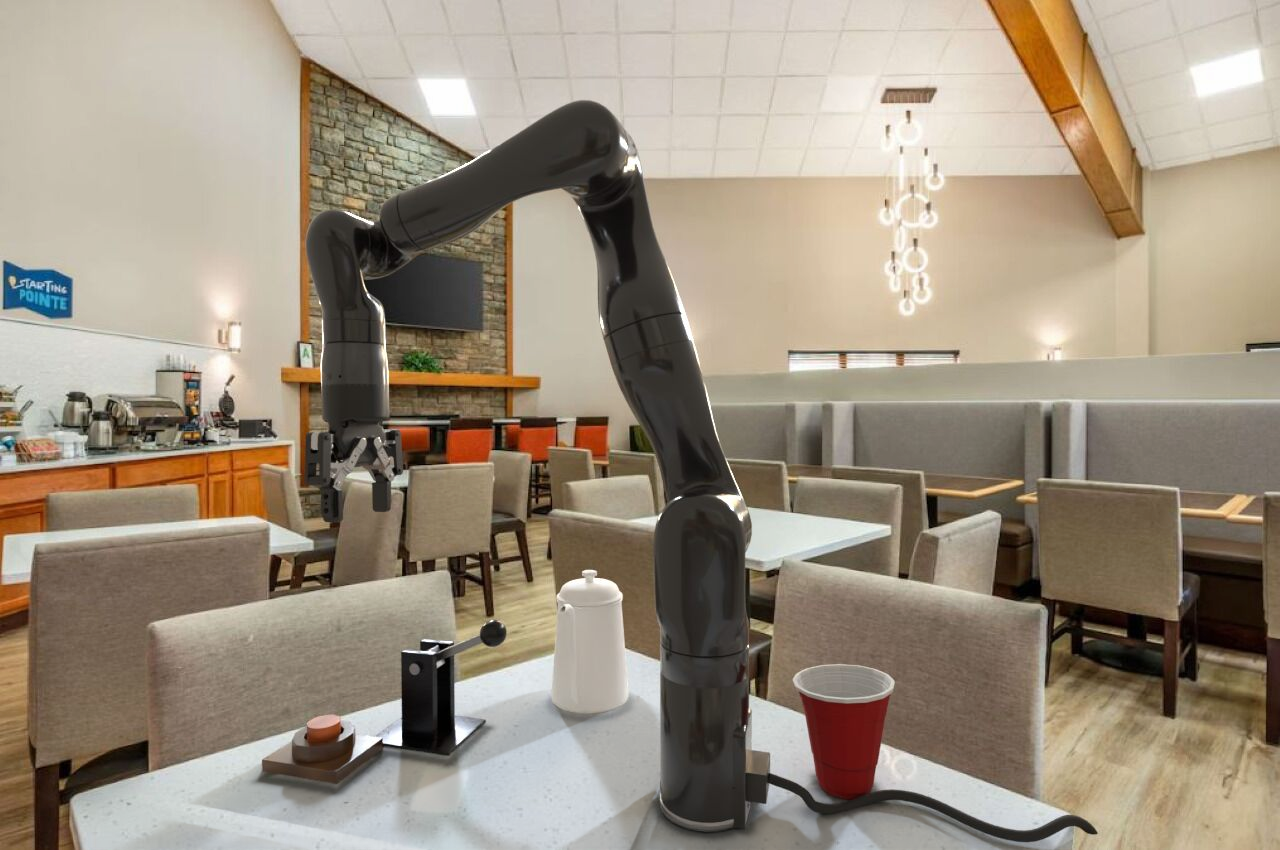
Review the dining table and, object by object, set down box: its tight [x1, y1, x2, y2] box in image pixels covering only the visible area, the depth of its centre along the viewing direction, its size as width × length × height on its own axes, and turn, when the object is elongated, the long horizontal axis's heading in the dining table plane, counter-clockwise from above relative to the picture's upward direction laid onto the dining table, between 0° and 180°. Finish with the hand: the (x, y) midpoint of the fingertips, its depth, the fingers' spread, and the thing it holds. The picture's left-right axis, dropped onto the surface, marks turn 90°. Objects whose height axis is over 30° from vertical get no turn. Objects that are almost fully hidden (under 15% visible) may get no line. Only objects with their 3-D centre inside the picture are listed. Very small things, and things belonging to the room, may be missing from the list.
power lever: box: [426, 619, 508, 668], centre depth 83 cm, size 13×3×3 cm, turn 74°
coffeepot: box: [551, 569, 629, 714], centre depth 95 cm, size 11×25×19 cm, turn 168°
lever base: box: [374, 638, 487, 757], centre depth 85 cm, size 11×9×12 cm
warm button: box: [306, 714, 342, 742], centre depth 78 cm, size 4×4×2 cm
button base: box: [261, 720, 384, 785], centre depth 78 cm, size 10×8×4 cm
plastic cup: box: [792, 663, 896, 800], centre depth 74 cm, size 11×11×12 cm
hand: (358, 516), depth 82 cm, fingers open, 8 cm apart
